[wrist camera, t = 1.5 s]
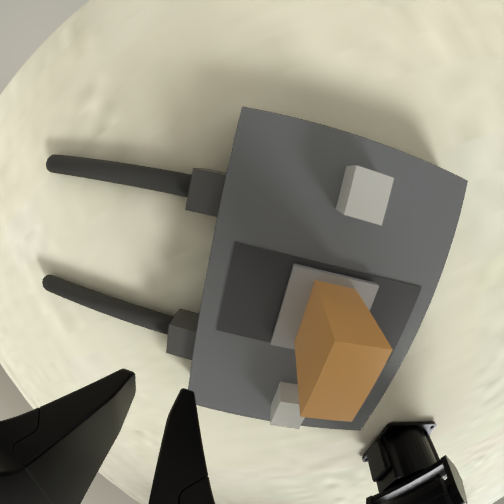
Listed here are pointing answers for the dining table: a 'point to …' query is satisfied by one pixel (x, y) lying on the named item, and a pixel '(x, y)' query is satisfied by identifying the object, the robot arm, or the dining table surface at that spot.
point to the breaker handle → (331, 341)
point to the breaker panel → (308, 255)
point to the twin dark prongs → (126, 176)
